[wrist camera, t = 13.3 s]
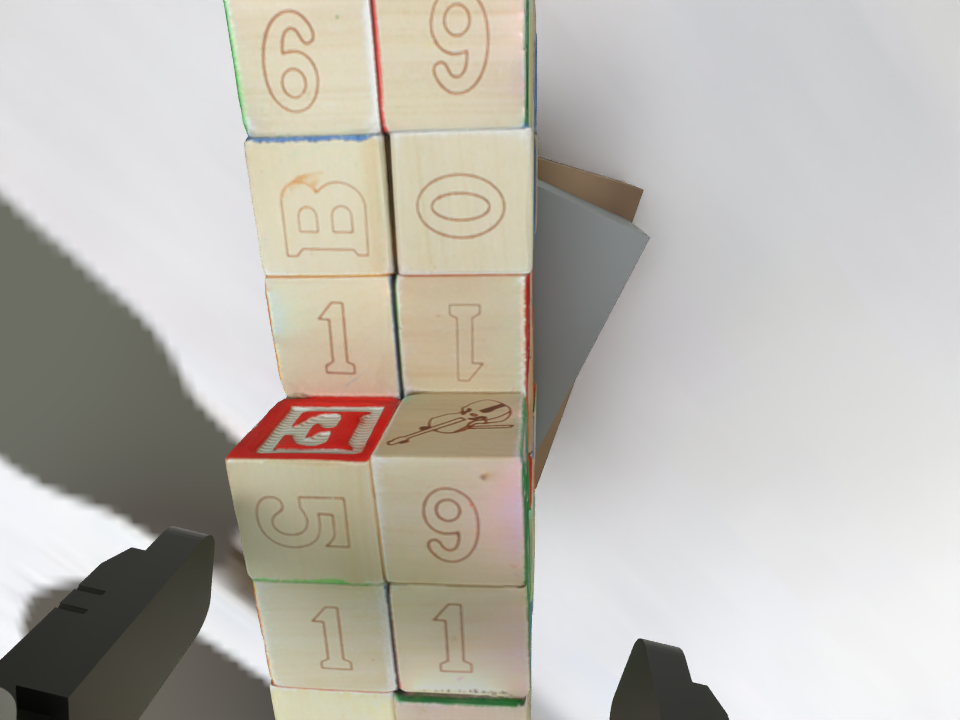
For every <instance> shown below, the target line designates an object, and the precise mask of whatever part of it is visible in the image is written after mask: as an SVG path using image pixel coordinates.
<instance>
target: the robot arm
mask: <svg viewBox="0 0 960 720" xmlns="http://www.w3.org/2000/svg"><path fill="white" fill-rule="evenodd" d="M213 557H214V538H213V536H211V535H208V534H204V533H200V532H195V531H191V530H187V529H182V528H178V527H174V526H171V527H169V528H168V529H166V530H165V531H164V532H163V533H162V534H161V535H160V536H159V537H158V538H157V539H156V540H155V541H154V542H153V543H152V544H151V545H150V546H149V547H148V548H147V549H146V550H141V549H136V548H130V549H128V550H126V551H124V552H122V553H120V554H118V555H116V556H114V557H112V558H111V559H109V560H107V561H105V562H103V563H101V564H100V565H99V566H98V567H97V568H96V569H95V570H94V571H93V572H92V573H91V574H90V575H89V576H88V577H87V578H85V579H84V580H83V581H82V582H81V583H80V584H79V587H78V589H77V590H76V589H74V590H73V591H72V592H71V593H70V594H69V595H68V596H67V597H66V598H65V599H64V600H63V601H61V602H60V605H59V607H58V608H54V609H53V610H52V611H51V612H50V613H49V614H48V615H47V616H46V617H45V618H44V619H43V620H42V621H41V622H40V623H39V624H38V625H36V626H35V627H34V628H33V629H32V630H31V631H30V632H29V633H28V634H27V635H26V636H25V637H24V638H23V639H22V640H21V641H20V642H19V643H18V644H17V645H16V646H14V647H13V648H12V649H11V650H10V651H9V652H8V653H7V654H6V655H5V656H4V657H3V658H2V659H1V660H0V720H139V718H140V717H141V715H142V714H143V712H144V711H145V710H146V708H147V706H148V705H149V703H150V702H151V701H152V699H153V698H154V696H155V695H156V694H157V692H158V691H159V689H160V688H161V686H162V685H163V684H164V682H165V681H166V679H167V678H168V676H169V675H170V674H171V672H172V671H173V669H174V668H175V666H176V665H177V664H178V662H179V661H180V659H181V658H182V656H183V655H184V653H185V652H186V651H187V649H188V648H189V646H190V645H191V643H192V642H193V641H194V639H195V638H196V636H197V635H198V633H199V631H200V629H201V627H202V625H203V623H204V621H205V618H206V615H207V612H208V609H209V605H210V598H211V585H212V572H213ZM610 720H729V718H728V715H727V713H726V712H725V710H724V709H723V707H722V706H721V704H720V703H719V702H718V700H717V699H716V697H715V696H714V695H713V693H712V692H711V690H710V689H709V687H708V686H706V685H702V684H698V683H694V682H692V680H691V676H690V673H689V669H688V666H687V662H686V659H685V656H684V653H683V651H682V650H681V649H680V648H679V647H674V646H670V645H666V644H662V643H658V642H653V641H649V640H645V639H638V640H637V641H636V642H635V644H634V646H633V649H632V651H631V654H630V656H629V659H628V662H627V664H626V667H625V669H624V672H623V674H622V677H621V680H620V682H619V685H618V687H617V690H616V693H615V695H614V698H613V701H612V706H611V712H610Z"/></svg>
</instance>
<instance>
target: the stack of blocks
mask: <svg viewBox="0 0 960 720" xmlns="http://www.w3.org/2000/svg"><path fill="white" fill-rule="evenodd" d="M223 2H224V7H225V13H226V19H227V25H228V32H229V38H230V44H231V51H232V57H233V63H234V69H235V77H236V84H237V91H238V97H239V102H240V107H241V111H242V119H243V123H244V126H245V129H246V132H247V134H248V137H247V139H246V141H245V142H244V145H245V157H246V163H247V169H248V175H249V182H250V189H251V196H252V203H253V209H254V215H255V221H256V227H257V233H258V239H259V246H260V254H261V261H262V267H263V270H264V273H265V275H266V279H265V295H266V299H267V305H268V312H269V318H270V324H271V331H272V336H273V341H274V347H275V352H276V358H277V364H278V370H279V376H280V380H281V383H282V385H283V388H284V391H285V393H286V394H287V397H286V399H284V400H282V401H280V402H278V403H277V404H276V405H275V406H274V407H273V408H272V409H271V410H269V412H268V413H267V414H266V416H265V417H264V418H263V419H262V420H261V421H260V422H259V423H258V424H257V425H256V426H255V427H254V428H253V429H252V430H251V431H250V432H249V433H248V434H247V435H246V436H245V437H244V438H243V439H242V440H241V441H240V442H239V443H238V444H237V445H236V446H235V447H234V448H233V449H232V451H231V452H230V453H229V455H228V456H227V457H226V458H225V460H226V466H227V473H228V478H229V483H230V488H231V493H232V497H233V503H234V508H235V513H236V517H237V520H238V526H239V532H240V538H241V543H242V548H243V553H244V558H245V562H246V567H247V572H248V575H249V576H250V577H251V578H252V580H253V586H254V593H255V601H256V608H257V613H258V618H259V622H260V627H261V632H262V636H263V639H264V644H265V652H266V658H267V663H268V668H269V672H270V676H271V678H272V679H271V683H270V691H271V697H272V703H273V708H274V714H275V719H276V720H531V629H532V612H533V594H534V558H535V444H536V386H537V385H536V382H535V381H534V379H533V369H534V308H533V305H532V295H533V248H534V239H535V233H536V227H537V181H538V135H537V132H536V111H537V34H536V10H535V0H223Z"/></svg>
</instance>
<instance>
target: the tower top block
mask: <svg viewBox="0 0 960 720" xmlns="http://www.w3.org/2000/svg"><path fill="white" fill-rule="evenodd" d="M649 238H650V237H649V236H648V235H646V234H645V233H644V232H643V231H641V230H640V229H639V228H637V227H636V226H635V225H634V224H632V223H631V222H630V221H629V220H627V219H625V218H623V217H621V216H619V215H617V214H614V213H612V212H610V211H608V210H606V209H604V208H601V207H599V206H597V205H595V204H593V203H590V202H588V201H586V200H584V199H582V198H580V197H577V196H575V195H573V194H571V193H569V192H566V191H564V190H562V189H560V188H558V187H555V186H553V185H551V184H549V183H547V182H545V181H542V180H540V179H538V181H537V227H536V233H535V239H534V248H533V295H532V305H533V308H534V369H533V379H534V381H535V382H536V385H537V386H536V444H535V455H536V453H537V451H538V449H539V447H540V445H541V443H542V441H543V439H544V438H545V436H546V434H547V432H548V430H549V428H550V426H551V424H552V422H553V421H554V419H555V417H556V415H557V413H558V411H559V409H560V407H561V405H562V403H563V402H564V400H565V398H566V396H567V394H568V392H569V390H570V388H571V386H572V384H573V383H574V381H575V379H576V377H577V375H578V373H579V371H580V369H581V367H582V366H583V364H584V362H585V360H586V358H587V356H588V354H589V352H590V350H591V348H592V347H593V345H594V343H595V341H596V339H597V337H598V335H599V333H600V331H601V329H602V328H603V326H604V324H605V322H606V320H607V318H608V316H609V314H610V312H611V310H612V309H613V307H614V305H615V303H616V301H617V299H618V297H619V295H620V293H621V292H622V290H623V288H624V286H625V284H626V282H627V280H628V278H629V276H630V274H631V273H632V271H633V269H634V267H635V265H636V263H637V261H638V259H639V257H640V255H641V254H642V252H643V250H644V248H645V246H646V244H647V242H648V240H649Z"/></svg>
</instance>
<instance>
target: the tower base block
mask: <svg viewBox="0 0 960 720" xmlns="http://www.w3.org/2000/svg"><path fill="white" fill-rule="evenodd" d="M538 179H540V180H542V181H545V182H547V183H549V184H551V185H553V186H555V187H558V188H560V189H562V190H564V191H566V192H569V193H571V194H573V195H575V196H577V197H580V198H582V199H584V200H586V201H588V202H590V203H593V204H595V205H597V206H599V207H601V208H604V209H606V210H608V211H610V212H612V213H614V214H617V215H619V216H621V217H623V218H625V219H627V220H629V221H630V222H631V223H632V221H633V218H634V215H635V212H636V210H637V207H638V204H639V201H640V198H641V196H642V193H643V189H640V188H638V187H635V186H633V185H630V184H628V183H625V182H621V181H618V180H615V179H611V178H608V177H605V176H601V175H598V174H595V173H591V172H588V171H584V170H581V169H578V168H574V167H571V166H568V165H564V164H561V163H558V162H554V161H551V160H548V159H544V158H541V157H538ZM574 382H575V381H574ZM573 384H574V383H573ZM573 384H572V386H571V388H570V390H569V392H568V394H567V396H566V398H565V400H564V402H563V403H562V405H561V407H560V409H559V411H558V413H557V415H556V417H555V419H554V421H553V422H552V424H551V426H550V428H549V430H548V432H547V434H546V436H545V438H544V439H543V441H542V443H541V445H540V447H539V449H538V451H537V453H536V455H535V489H536V487H537V484H538V482H539V479H540V476H541V473H542V470H543V468H544V465H545V462H546V459H547V457H548V454H549V451H550V448H551V445H552V443H553V440H554V437H555V434H556V432H557V429H558V426H559V423H560V420H561V418H562V415H563V412H564V409H565V407H566V404H567V401H568V398H569V396H570V393H571V390H572V387H573Z"/></svg>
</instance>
